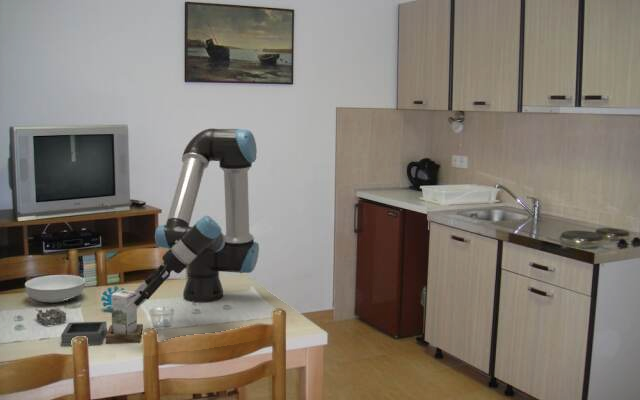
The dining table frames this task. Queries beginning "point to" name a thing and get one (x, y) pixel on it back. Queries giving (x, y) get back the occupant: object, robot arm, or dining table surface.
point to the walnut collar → (124, 336)
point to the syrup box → (123, 313)
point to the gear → (109, 297)
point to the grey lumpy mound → (52, 316)
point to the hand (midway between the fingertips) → (130, 304)
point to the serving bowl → (54, 287)
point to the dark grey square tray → (85, 332)
